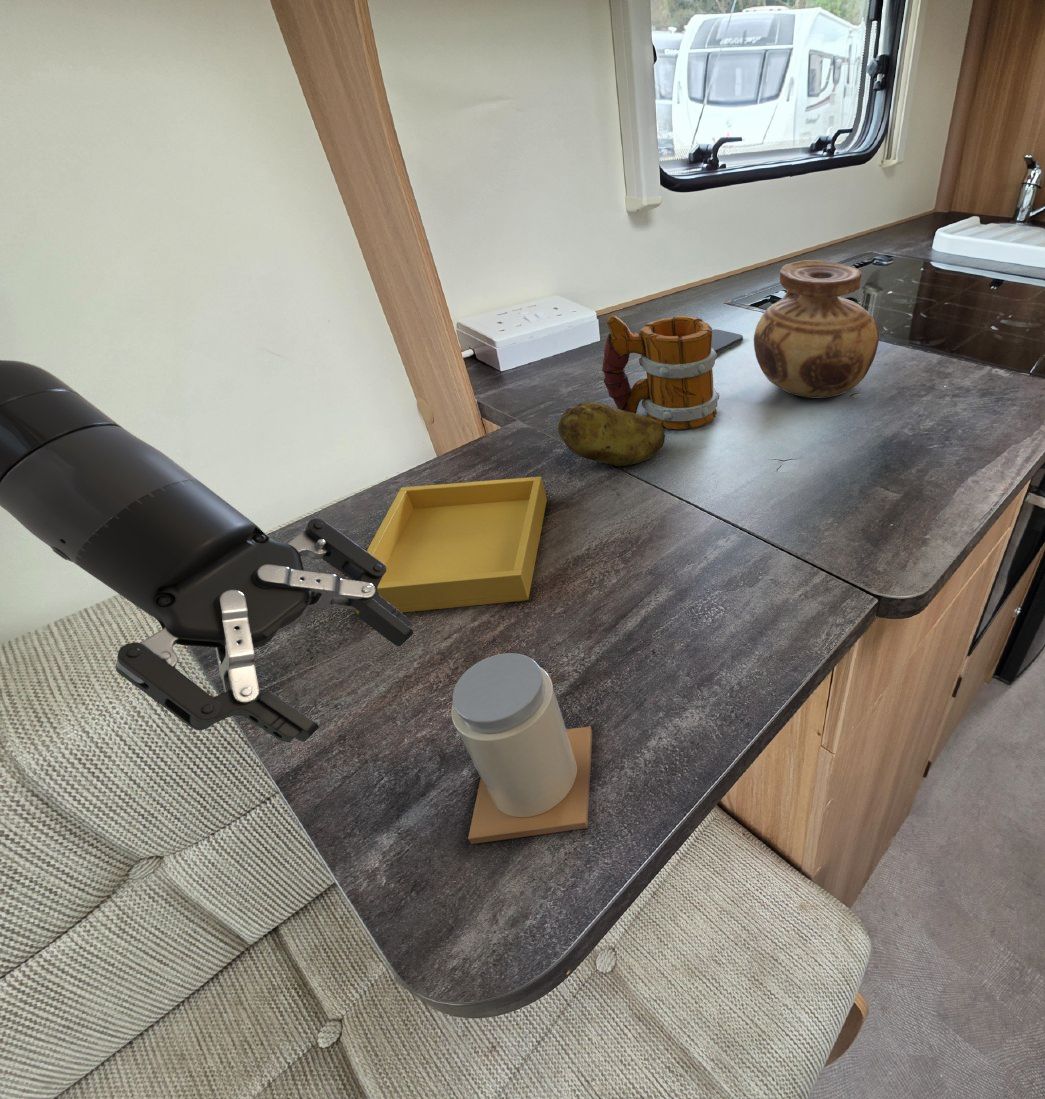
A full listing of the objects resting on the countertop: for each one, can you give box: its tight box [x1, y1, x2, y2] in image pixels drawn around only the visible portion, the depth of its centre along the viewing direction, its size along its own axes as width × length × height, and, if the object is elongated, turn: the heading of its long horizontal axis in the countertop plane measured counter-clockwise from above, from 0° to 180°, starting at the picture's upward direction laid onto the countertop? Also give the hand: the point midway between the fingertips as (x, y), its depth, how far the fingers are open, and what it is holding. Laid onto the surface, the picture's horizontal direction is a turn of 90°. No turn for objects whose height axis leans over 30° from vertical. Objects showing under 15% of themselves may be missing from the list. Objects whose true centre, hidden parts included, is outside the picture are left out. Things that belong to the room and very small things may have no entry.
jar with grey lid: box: [450, 652, 577, 817], centre depth 39 cm, size 6×6×10 cm
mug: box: [601, 314, 720, 431], centre depth 84 cm, size 11×16×15 cm, turn 102°
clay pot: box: [753, 259, 880, 399], centre depth 91 cm, size 19×19×20 cm
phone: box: [712, 328, 744, 354], centre depth 110 cm, size 7×1×15 cm
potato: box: [557, 402, 666, 467], centre depth 76 cm, size 8×13×8 cm, turn 92°
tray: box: [350, 476, 548, 615], centre depth 63 cm, size 18×16×3 cm
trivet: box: [467, 726, 593, 845], centre depth 42 cm, size 8×8×1 cm
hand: (363, 683), depth 41 cm, fingers open, 8 cm apart
